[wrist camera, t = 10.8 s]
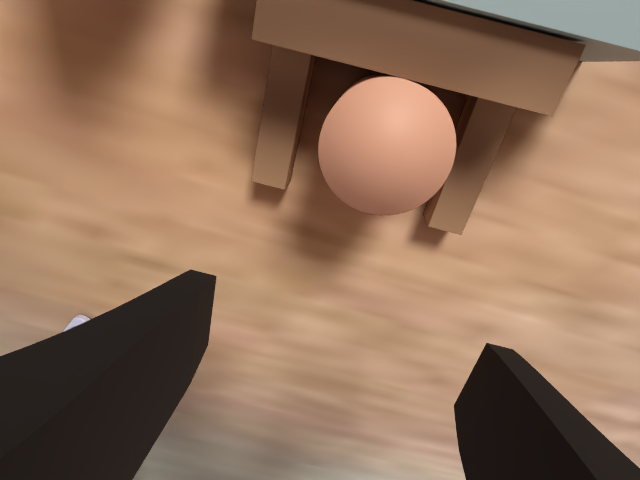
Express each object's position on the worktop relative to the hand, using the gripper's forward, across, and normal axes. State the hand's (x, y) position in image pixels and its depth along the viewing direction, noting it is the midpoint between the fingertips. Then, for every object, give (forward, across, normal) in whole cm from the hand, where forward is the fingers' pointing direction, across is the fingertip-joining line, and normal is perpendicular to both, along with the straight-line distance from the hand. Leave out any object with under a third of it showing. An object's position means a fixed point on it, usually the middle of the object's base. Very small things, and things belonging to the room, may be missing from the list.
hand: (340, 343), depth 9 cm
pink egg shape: (+10, 0, -4) cm, 11 cm away
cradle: (+10, 0, -4) cm, 11 cm away
